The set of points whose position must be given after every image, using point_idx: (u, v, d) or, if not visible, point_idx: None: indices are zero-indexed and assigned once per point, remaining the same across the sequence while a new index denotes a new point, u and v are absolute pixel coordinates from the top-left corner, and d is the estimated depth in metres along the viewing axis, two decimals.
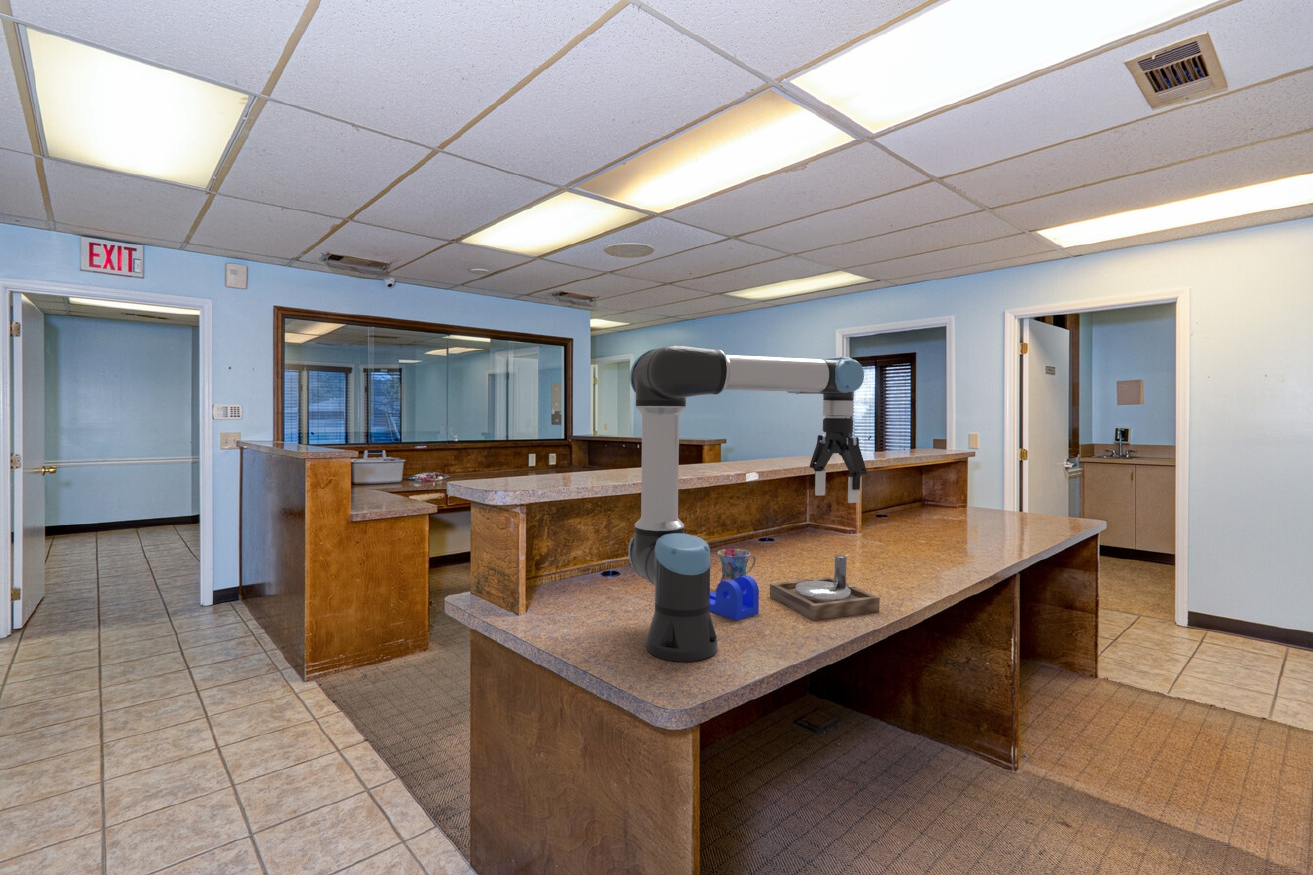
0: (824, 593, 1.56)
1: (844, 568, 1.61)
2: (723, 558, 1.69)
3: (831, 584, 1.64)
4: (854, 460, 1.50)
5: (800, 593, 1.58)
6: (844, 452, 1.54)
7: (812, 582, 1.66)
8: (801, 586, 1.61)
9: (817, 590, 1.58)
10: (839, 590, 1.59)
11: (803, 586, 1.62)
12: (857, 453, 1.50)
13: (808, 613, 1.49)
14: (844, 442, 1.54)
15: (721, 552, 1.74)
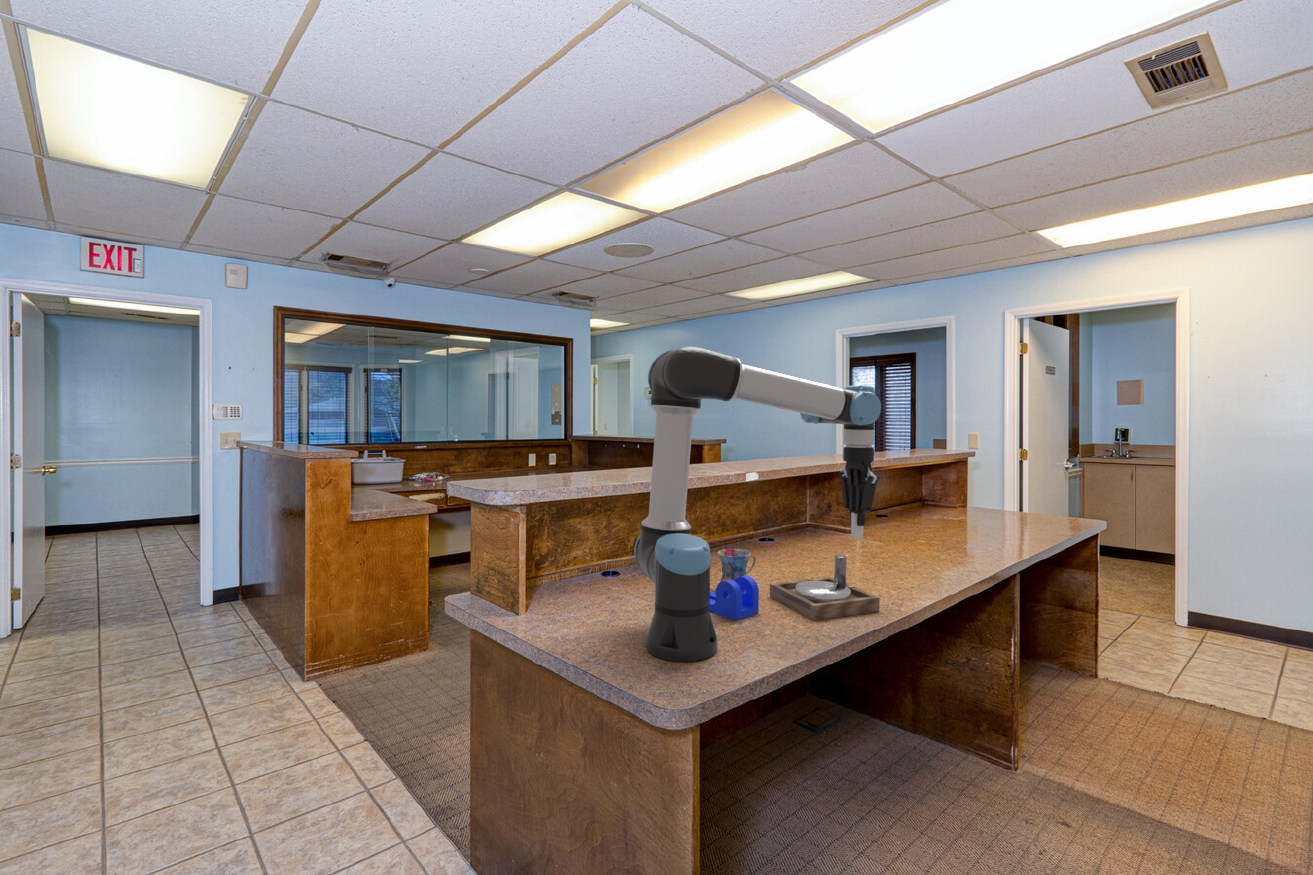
0: (824, 593, 1.56)
1: (844, 568, 1.61)
2: (723, 558, 1.69)
3: (831, 584, 1.64)
4: (864, 498, 1.51)
5: (800, 593, 1.58)
6: (860, 486, 1.53)
7: (812, 582, 1.66)
8: (801, 586, 1.61)
9: (817, 590, 1.58)
10: (839, 590, 1.59)
11: (803, 586, 1.62)
12: (870, 492, 1.51)
13: (808, 613, 1.49)
14: (864, 473, 1.52)
15: (721, 552, 1.74)
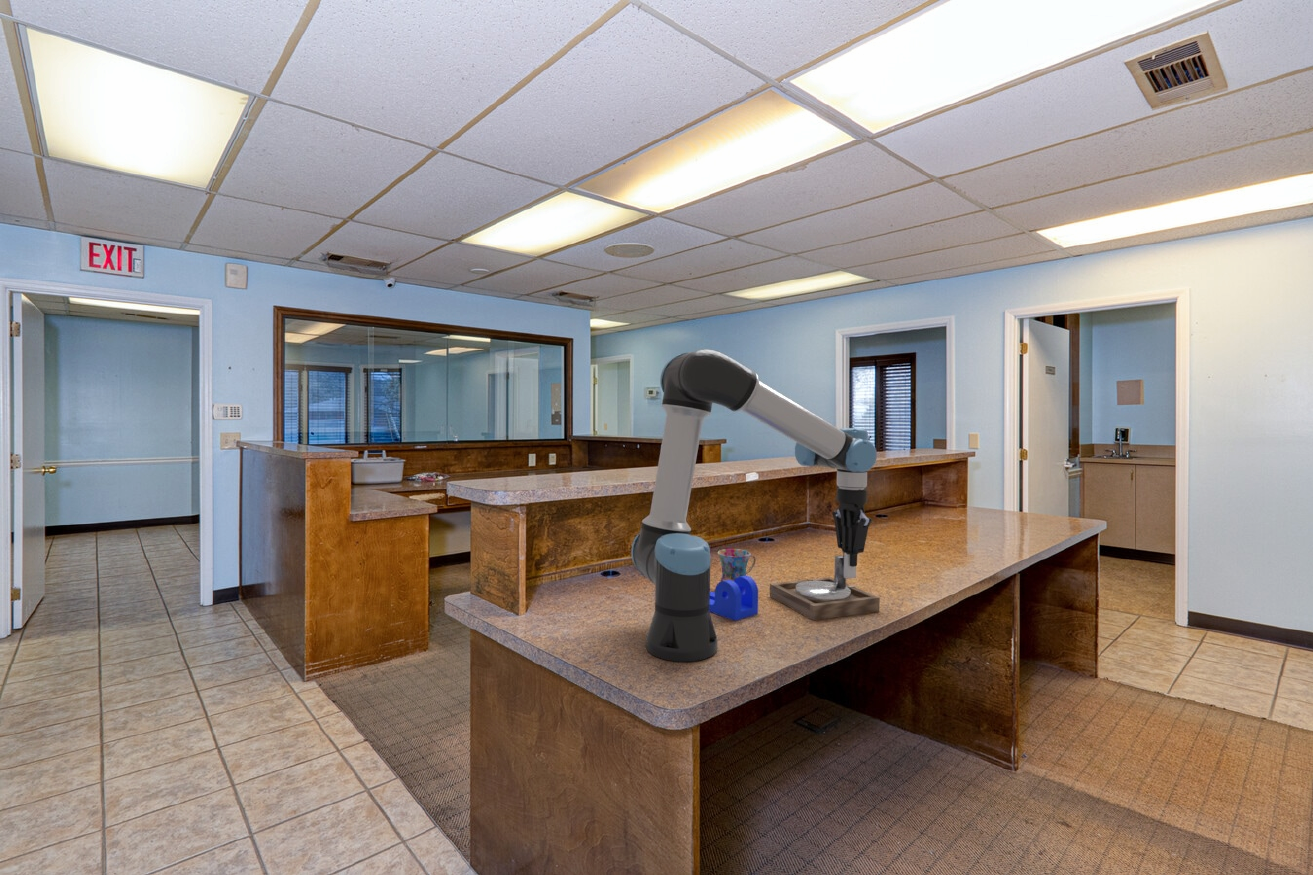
0: (824, 593, 1.56)
1: None
2: (723, 558, 1.69)
3: (831, 584, 1.64)
4: (857, 540, 1.54)
5: (800, 593, 1.58)
6: (852, 527, 1.56)
7: (812, 582, 1.66)
8: (801, 586, 1.61)
9: (817, 590, 1.58)
10: (839, 590, 1.59)
11: (803, 586, 1.62)
12: (863, 534, 1.54)
13: (808, 613, 1.49)
14: (857, 515, 1.54)
15: (721, 552, 1.74)
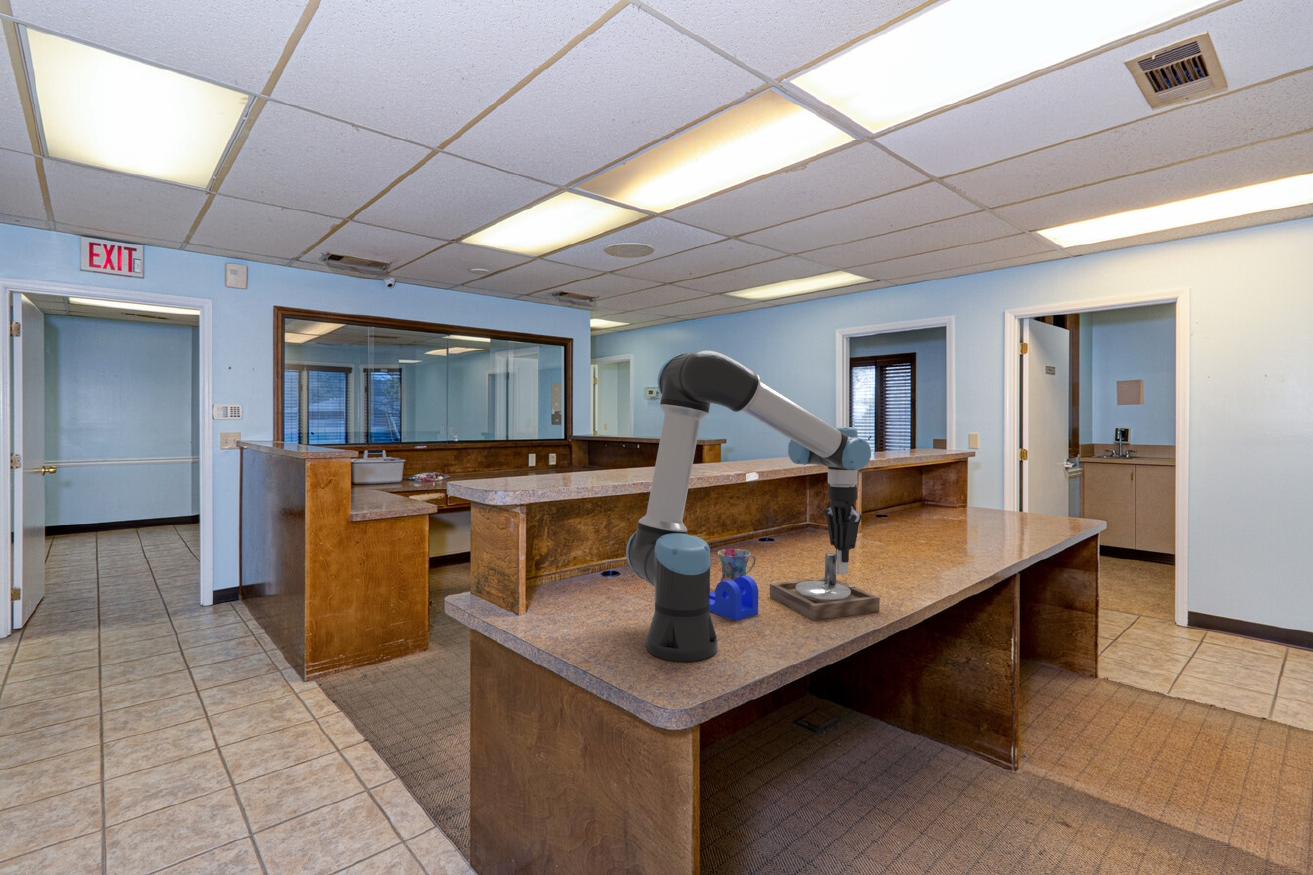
0: (834, 593, 1.56)
1: None
2: (723, 558, 1.69)
3: (821, 583, 1.65)
4: (848, 536, 1.57)
5: (813, 596, 1.55)
6: (844, 524, 1.59)
7: (804, 584, 1.64)
8: (805, 590, 1.58)
9: (824, 591, 1.57)
10: (837, 587, 1.61)
11: (805, 589, 1.59)
12: (854, 530, 1.57)
13: (808, 613, 1.49)
14: (848, 512, 1.58)
15: (721, 552, 1.74)
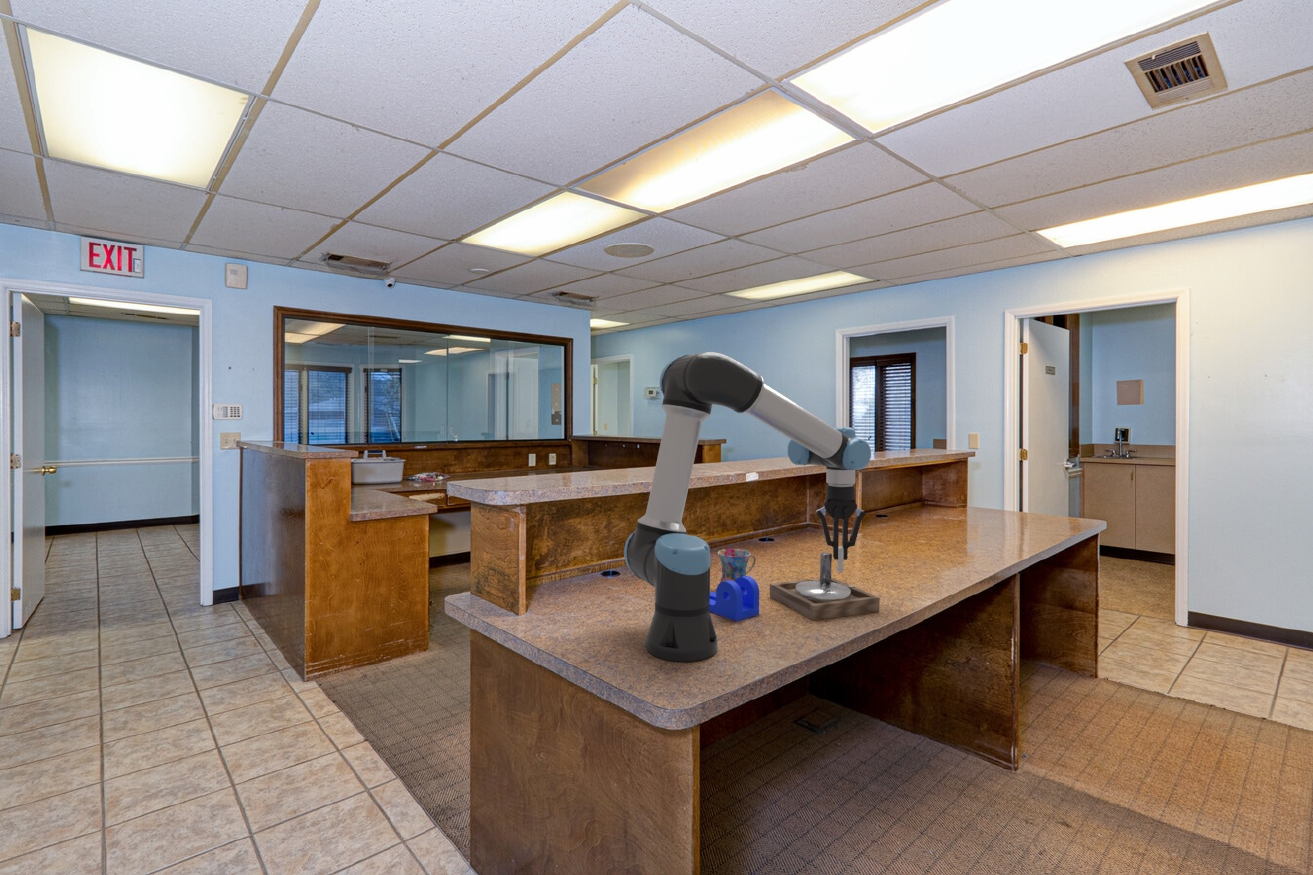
0: (837, 592, 1.56)
1: (831, 564, 1.65)
2: (723, 558, 1.69)
3: (816, 583, 1.65)
4: (856, 533, 1.62)
5: (819, 597, 1.54)
6: (848, 522, 1.63)
7: (802, 585, 1.63)
8: (809, 591, 1.57)
9: (826, 591, 1.57)
10: (835, 586, 1.62)
11: (808, 590, 1.58)
12: None
13: (808, 613, 1.49)
14: (854, 510, 1.62)
15: (721, 552, 1.74)
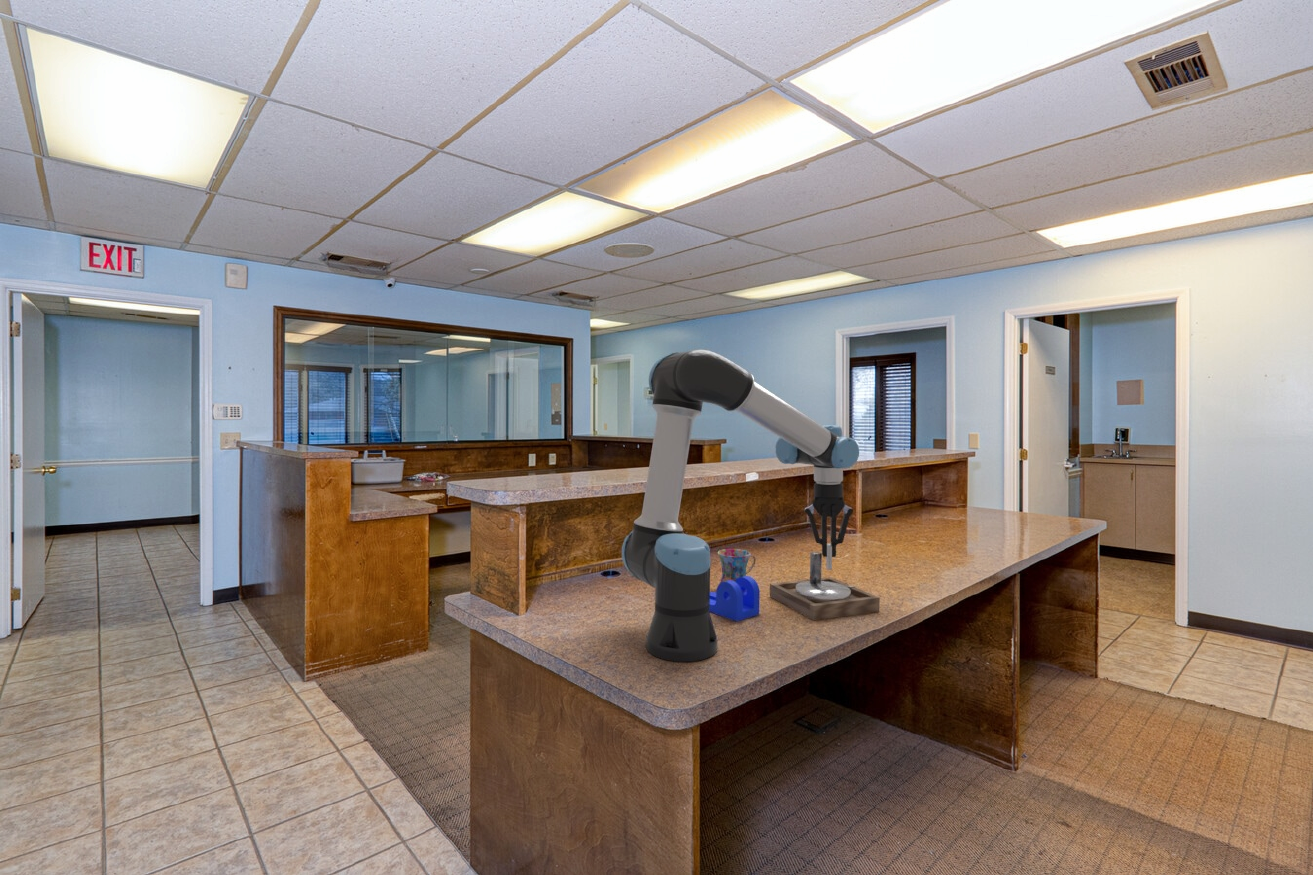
0: (841, 590, 1.58)
1: None
2: (723, 558, 1.69)
3: (809, 583, 1.64)
4: (844, 530, 1.63)
5: (833, 598, 1.53)
6: None
7: (802, 587, 1.60)
8: (818, 593, 1.55)
9: (831, 591, 1.58)
10: (829, 584, 1.63)
11: (816, 592, 1.56)
12: None
13: (808, 613, 1.49)
14: (841, 507, 1.63)
15: (721, 552, 1.74)
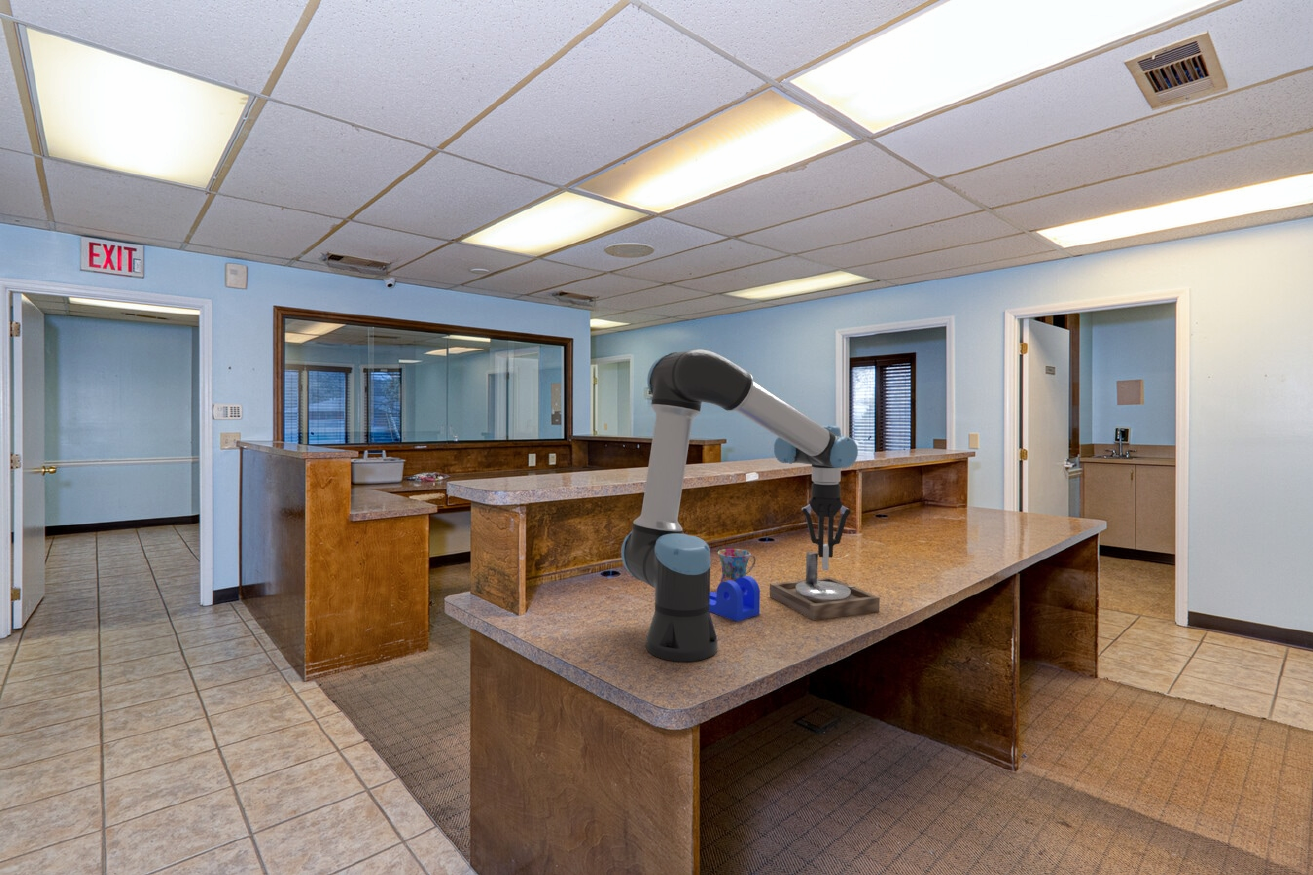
0: (841, 589, 1.59)
1: None
2: (723, 558, 1.69)
3: (806, 584, 1.64)
4: (841, 530, 1.63)
5: (838, 598, 1.54)
6: None
7: (803, 589, 1.59)
8: (823, 594, 1.55)
9: (832, 590, 1.58)
10: (826, 584, 1.64)
11: (821, 593, 1.56)
12: None
13: (808, 613, 1.49)
14: (839, 508, 1.63)
15: (721, 552, 1.74)
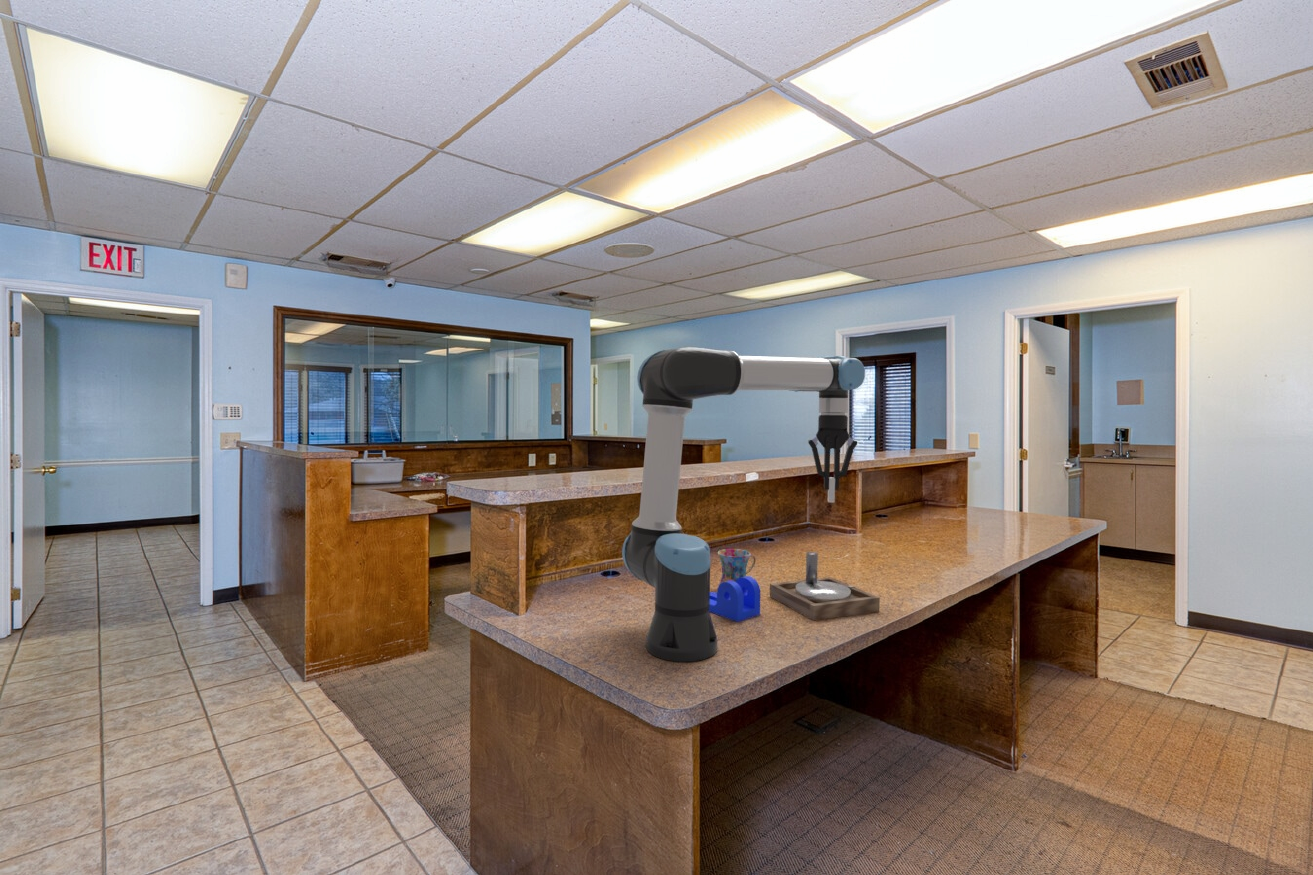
0: (841, 589, 1.59)
1: None
2: (723, 558, 1.69)
3: (806, 584, 1.64)
4: (848, 462, 1.62)
5: (838, 598, 1.54)
6: (839, 452, 1.62)
7: (803, 589, 1.59)
8: (823, 594, 1.55)
9: (832, 590, 1.58)
10: (825, 584, 1.64)
11: (821, 593, 1.56)
12: None
13: (808, 613, 1.49)
14: (846, 439, 1.62)
15: (721, 552, 1.74)
